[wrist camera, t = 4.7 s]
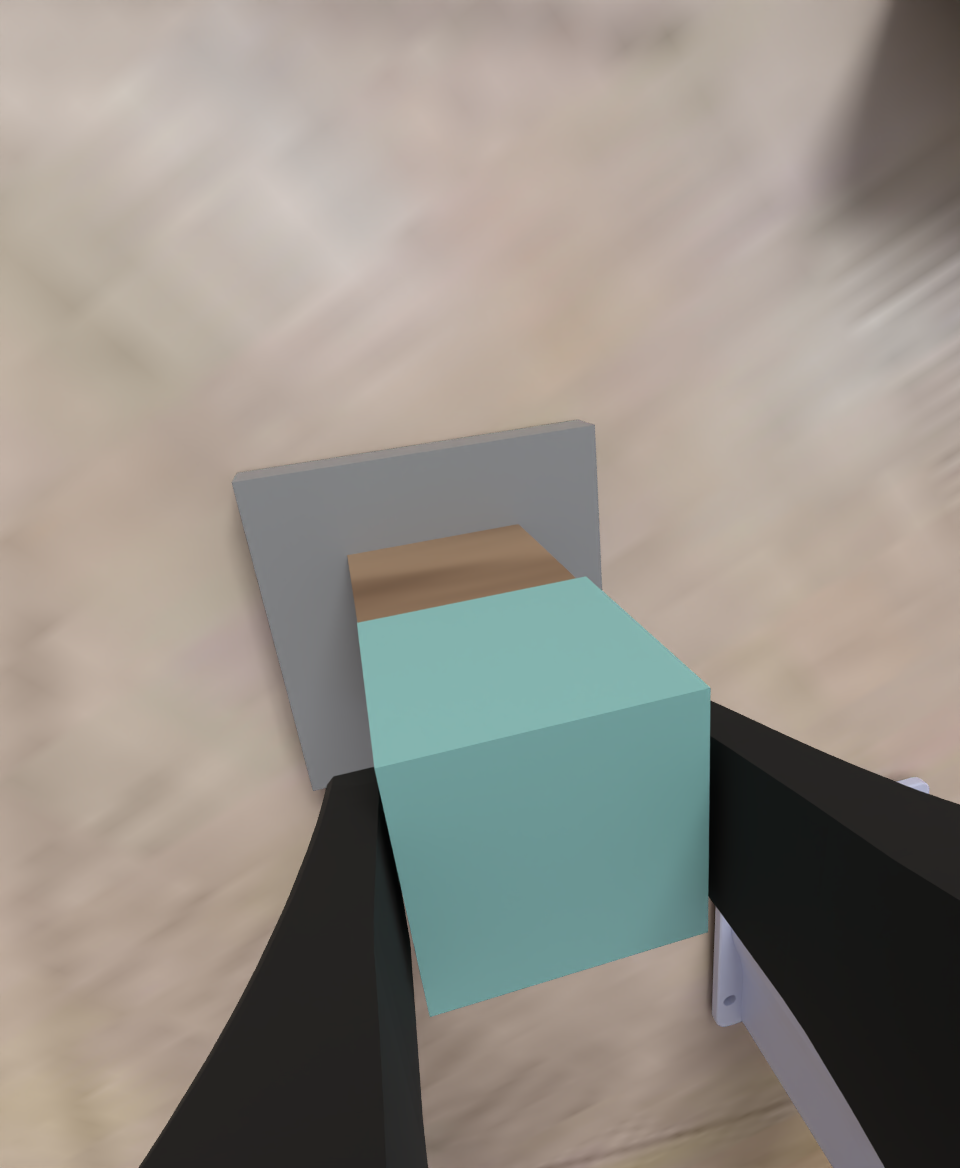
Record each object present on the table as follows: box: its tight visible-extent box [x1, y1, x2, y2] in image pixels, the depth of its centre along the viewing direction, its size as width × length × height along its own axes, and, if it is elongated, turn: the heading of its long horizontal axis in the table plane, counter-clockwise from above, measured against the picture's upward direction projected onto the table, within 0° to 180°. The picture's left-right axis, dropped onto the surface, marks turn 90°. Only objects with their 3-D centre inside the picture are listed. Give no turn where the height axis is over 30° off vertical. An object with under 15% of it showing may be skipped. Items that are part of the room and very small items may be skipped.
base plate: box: [232, 420, 602, 791], centre depth 16 cm, size 8×8×1 cm
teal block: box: [357, 576, 710, 1017], centre depth 10 cm, size 4×4×4 cm
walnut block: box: [347, 524, 576, 623], centre depth 14 cm, size 4×4×4 cm
